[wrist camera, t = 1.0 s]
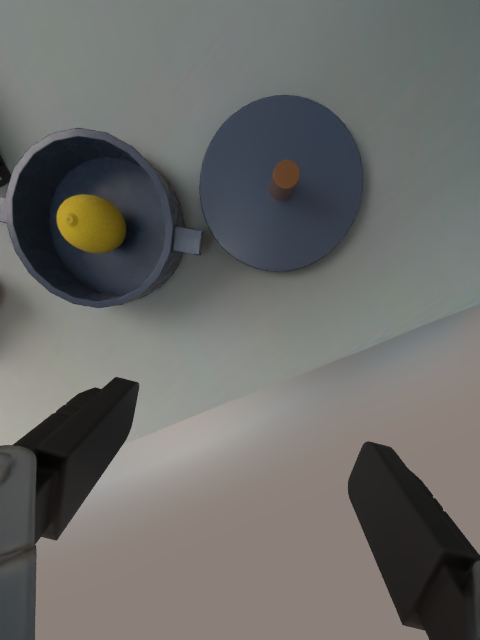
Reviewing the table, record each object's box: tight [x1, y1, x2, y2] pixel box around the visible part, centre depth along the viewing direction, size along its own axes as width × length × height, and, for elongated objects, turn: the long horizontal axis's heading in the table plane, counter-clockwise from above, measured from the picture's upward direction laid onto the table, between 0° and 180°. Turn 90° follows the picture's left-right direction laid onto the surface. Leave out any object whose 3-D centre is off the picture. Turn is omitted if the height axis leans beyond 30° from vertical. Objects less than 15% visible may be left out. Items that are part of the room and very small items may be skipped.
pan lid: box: [200, 95, 363, 272], centre depth 27 cm, size 17×17×6 cm
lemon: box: [57, 194, 126, 253], centre depth 27 cm, size 6×6×8 cm
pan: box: [0, 128, 204, 308], centre depth 29 cm, size 16×22×5 cm
